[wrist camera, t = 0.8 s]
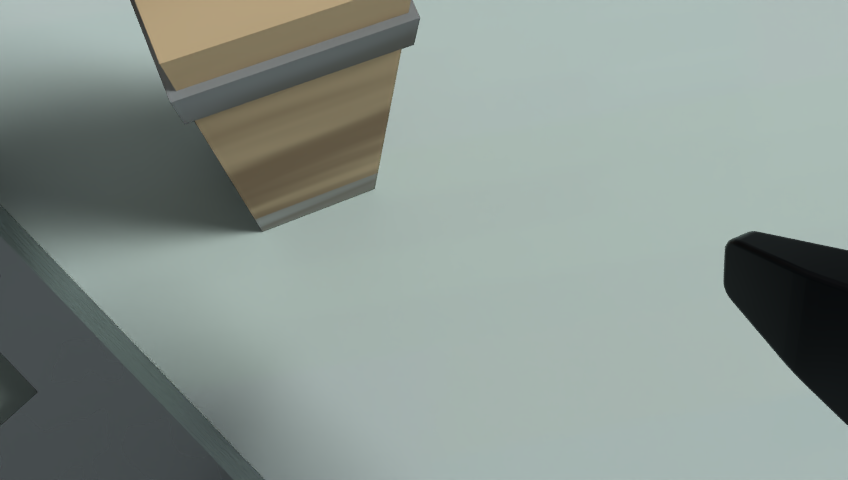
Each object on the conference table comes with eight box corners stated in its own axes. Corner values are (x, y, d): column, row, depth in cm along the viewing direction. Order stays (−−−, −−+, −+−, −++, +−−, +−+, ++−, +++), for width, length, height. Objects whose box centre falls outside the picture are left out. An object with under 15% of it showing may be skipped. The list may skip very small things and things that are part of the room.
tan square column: (380, 191, 23) (427, -15, 10) (259, 237, 22) (153, 76, 10) (332, 79, 24) (323, -247, 11) (213, 121, 23) (54, -177, 10)
